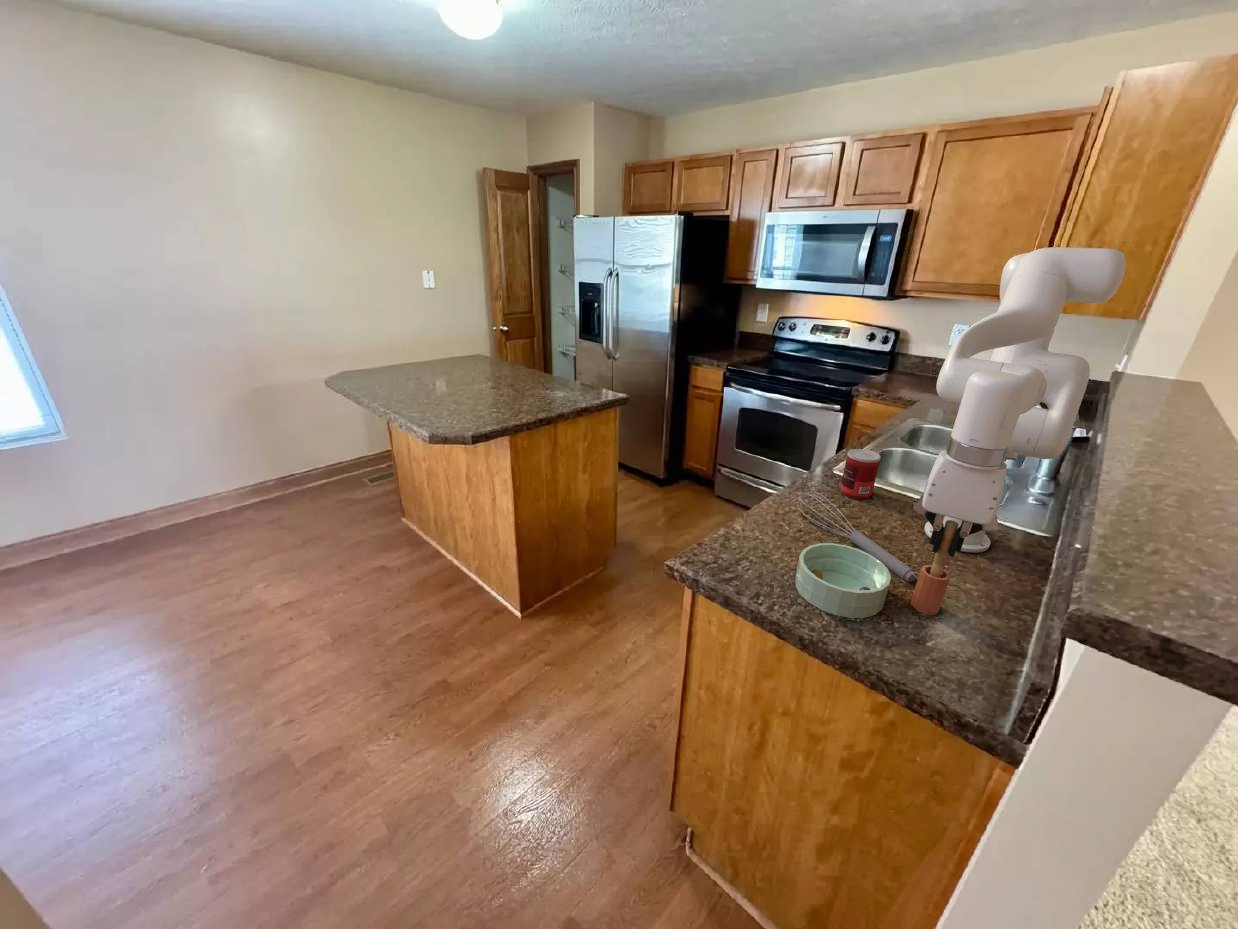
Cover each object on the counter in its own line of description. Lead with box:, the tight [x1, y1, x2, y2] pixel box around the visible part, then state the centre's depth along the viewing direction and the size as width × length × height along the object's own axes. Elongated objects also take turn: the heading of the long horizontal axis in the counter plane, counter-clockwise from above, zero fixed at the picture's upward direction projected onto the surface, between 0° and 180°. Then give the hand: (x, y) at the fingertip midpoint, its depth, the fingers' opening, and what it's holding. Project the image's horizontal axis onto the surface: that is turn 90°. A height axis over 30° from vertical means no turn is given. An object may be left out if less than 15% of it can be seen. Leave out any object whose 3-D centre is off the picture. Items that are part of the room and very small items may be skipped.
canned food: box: [840, 448, 882, 500], centre depth 132 cm, size 8×8×11 cm
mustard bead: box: [811, 569, 823, 579], centre depth 98 cm, size 2×2×2 cm
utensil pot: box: [910, 564, 952, 616], centre depth 90 cm, size 4×4×8 cm
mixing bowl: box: [794, 542, 892, 619], centre depth 95 cm, size 15×15×6 cm
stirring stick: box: [929, 520, 959, 578], centre depth 88 cm, size 2×2×16 cm
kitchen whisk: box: [796, 491, 918, 583], centre depth 110 cm, size 6×34×6 cm, turn 23°
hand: (943, 550), depth 87 cm, fingers closed on stirring stick, 1 cm apart
